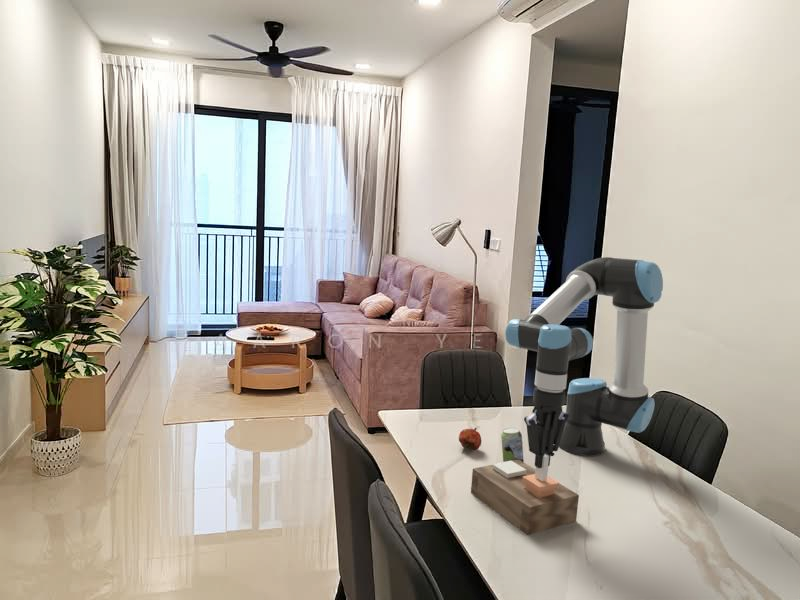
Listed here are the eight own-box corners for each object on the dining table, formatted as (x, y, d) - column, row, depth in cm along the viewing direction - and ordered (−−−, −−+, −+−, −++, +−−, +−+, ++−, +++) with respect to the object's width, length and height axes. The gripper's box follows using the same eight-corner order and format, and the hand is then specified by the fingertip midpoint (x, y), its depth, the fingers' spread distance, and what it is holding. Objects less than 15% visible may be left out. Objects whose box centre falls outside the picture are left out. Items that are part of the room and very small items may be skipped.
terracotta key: (538, 501, 156) (541, 472, 155) (556, 512, 151) (559, 482, 150) (519, 506, 153) (522, 476, 152) (536, 517, 148) (539, 487, 146)
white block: (508, 487, 167) (511, 460, 166) (523, 497, 161) (526, 469, 160) (490, 491, 164) (492, 464, 163) (505, 502, 158) (507, 473, 157)
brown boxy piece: (516, 482, 171) (518, 459, 170) (576, 521, 152) (578, 495, 150) (470, 492, 163) (472, 468, 162) (527, 534, 144) (530, 507, 143)
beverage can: (523, 473, 177) (526, 435, 175) (498, 470, 179) (501, 432, 177) (523, 465, 183) (526, 427, 182) (499, 462, 185) (502, 424, 183)
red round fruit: (475, 462, 189) (491, 438, 194) (465, 447, 185) (482, 423, 190) (457, 457, 194) (473, 433, 199) (448, 442, 191) (464, 418, 196)
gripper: (558, 381, 154) (549, 468, 157) (519, 386, 147) (510, 477, 151) (580, 389, 147) (570, 480, 151) (540, 395, 141) (530, 489, 144)
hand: (540, 478), depth 151 cm, fingers closed
